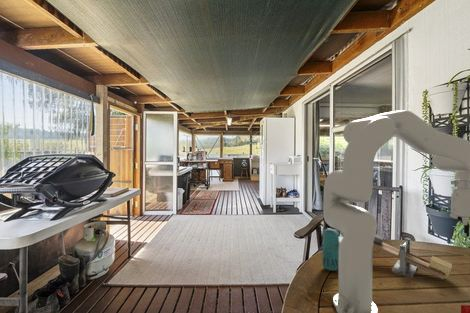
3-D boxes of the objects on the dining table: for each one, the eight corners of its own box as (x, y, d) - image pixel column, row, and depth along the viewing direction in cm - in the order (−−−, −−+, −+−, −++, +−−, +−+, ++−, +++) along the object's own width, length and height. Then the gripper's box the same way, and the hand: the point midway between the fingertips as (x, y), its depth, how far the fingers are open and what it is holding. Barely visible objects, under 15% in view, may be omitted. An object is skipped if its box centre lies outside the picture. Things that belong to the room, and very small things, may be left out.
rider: (448, 276, 89) (451, 268, 89) (428, 267, 93) (431, 259, 93) (449, 272, 93) (452, 264, 92) (429, 263, 97) (432, 255, 96)
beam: (443, 279, 89) (448, 267, 88) (363, 242, 108) (366, 232, 107) (445, 272, 95) (449, 260, 94) (368, 238, 113) (370, 228, 112)
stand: (412, 278, 93) (413, 249, 93) (391, 272, 98) (392, 244, 98) (417, 266, 103) (418, 239, 103) (398, 261, 108) (398, 235, 107)
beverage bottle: (320, 272, 98) (321, 223, 98) (323, 265, 104) (323, 218, 104) (338, 275, 95) (338, 225, 95) (339, 268, 101) (340, 220, 101)
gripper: (442, 184, 89) (441, 234, 90) (502, 188, 79) (501, 244, 79) (443, 182, 95) (442, 229, 95) (500, 185, 84) (499, 238, 85)
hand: (469, 236), depth 87 cm, fingers closed
